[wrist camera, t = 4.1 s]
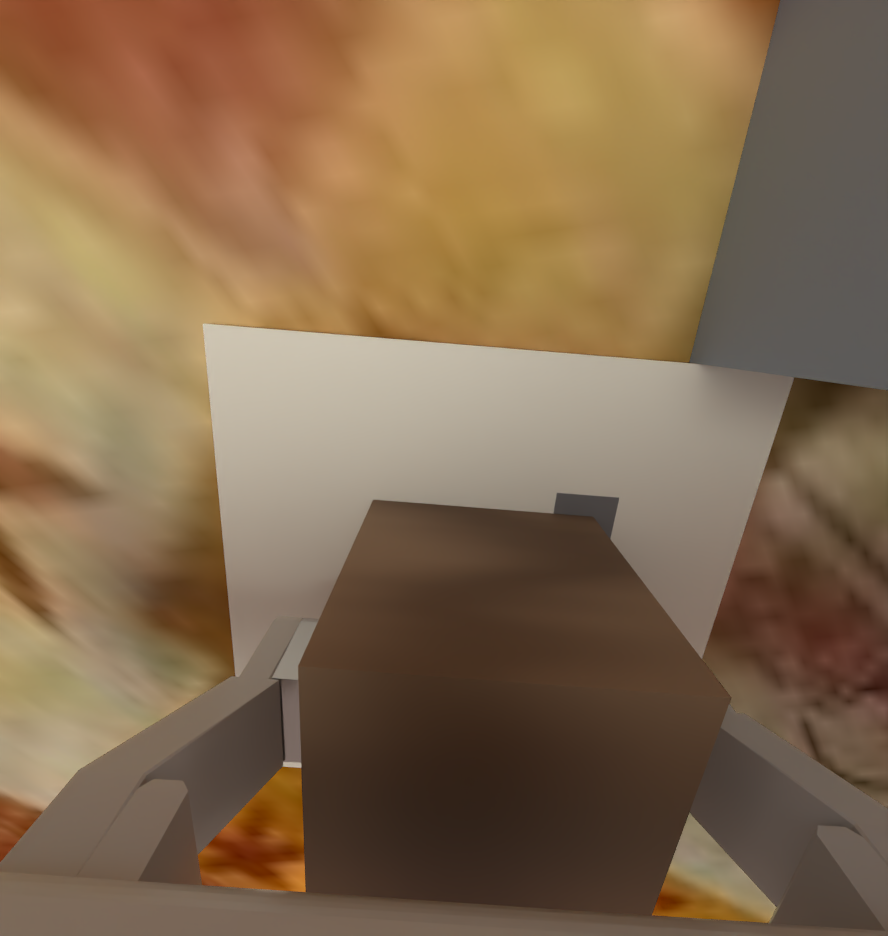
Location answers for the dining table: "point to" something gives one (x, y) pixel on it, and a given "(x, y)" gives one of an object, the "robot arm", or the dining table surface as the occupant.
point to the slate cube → (809, 207)
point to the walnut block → (498, 716)
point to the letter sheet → (475, 457)
